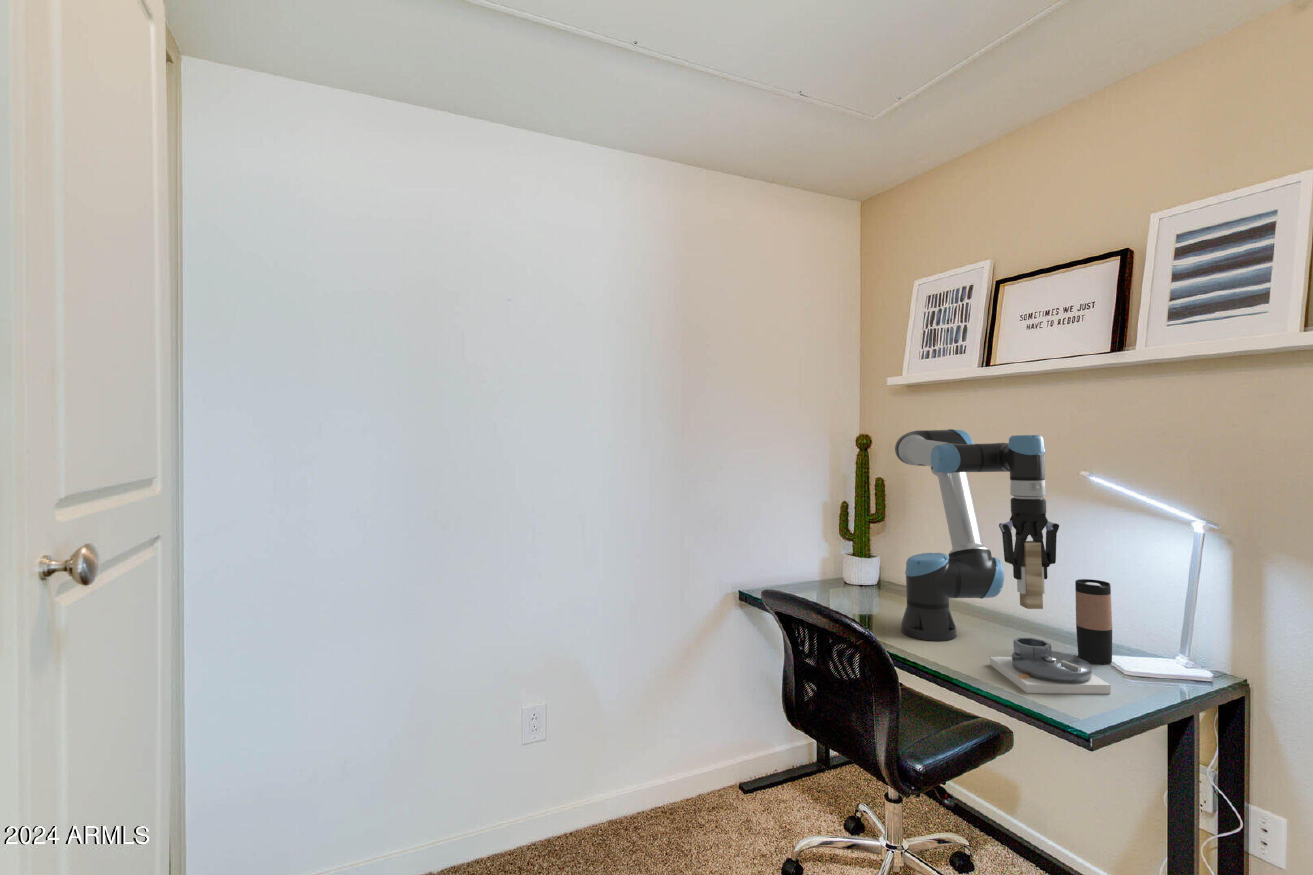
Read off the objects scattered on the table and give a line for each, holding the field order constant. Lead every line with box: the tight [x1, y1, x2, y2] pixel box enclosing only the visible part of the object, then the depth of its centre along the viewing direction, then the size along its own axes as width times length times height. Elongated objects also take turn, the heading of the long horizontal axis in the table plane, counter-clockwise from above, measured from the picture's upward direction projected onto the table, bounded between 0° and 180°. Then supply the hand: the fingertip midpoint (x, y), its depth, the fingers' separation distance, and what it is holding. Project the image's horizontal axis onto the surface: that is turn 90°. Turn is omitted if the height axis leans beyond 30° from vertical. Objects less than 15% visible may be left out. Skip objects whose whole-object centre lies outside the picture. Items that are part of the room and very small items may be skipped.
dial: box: [1011, 637, 1093, 682], centre depth 147 cm, size 16×16×5 cm
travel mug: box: [1074, 578, 1113, 665], centre depth 159 cm, size 8×8×20 cm
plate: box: [989, 656, 1112, 695], centre depth 148 cm, size 18×18×2 cm
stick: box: [1019, 540, 1044, 610], centre depth 151 cm, size 4×4×16 cm
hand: (1030, 592), depth 151 cm, fingers closed on stick, 4 cm apart
